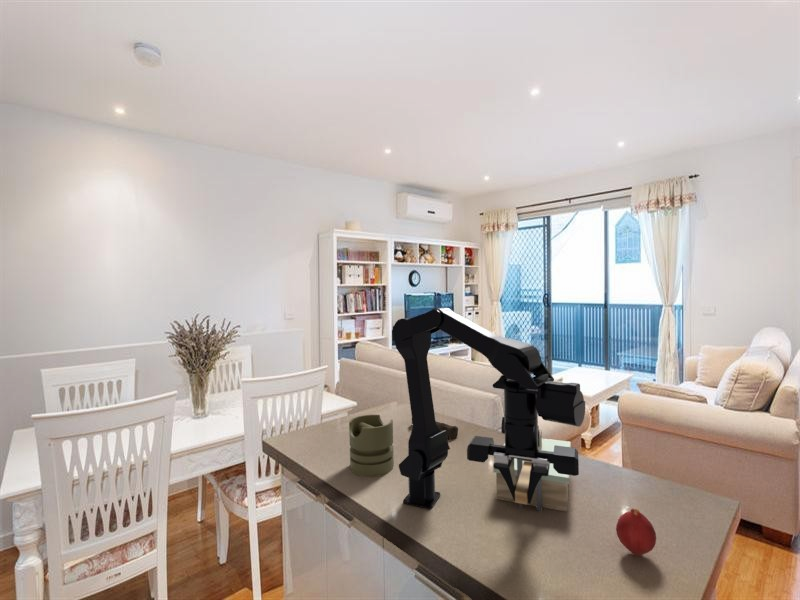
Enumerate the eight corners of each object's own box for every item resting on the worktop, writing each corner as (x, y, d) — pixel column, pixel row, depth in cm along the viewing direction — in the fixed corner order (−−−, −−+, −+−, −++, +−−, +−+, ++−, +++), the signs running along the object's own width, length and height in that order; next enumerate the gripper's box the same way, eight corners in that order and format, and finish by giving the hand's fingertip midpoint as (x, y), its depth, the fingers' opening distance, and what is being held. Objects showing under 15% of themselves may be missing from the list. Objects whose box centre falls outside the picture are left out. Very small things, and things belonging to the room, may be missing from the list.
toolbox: (566, 511, 82) (566, 482, 81) (496, 499, 87) (496, 471, 87) (568, 471, 100) (568, 446, 100) (510, 462, 105) (510, 439, 105)
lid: (569, 488, 81) (568, 458, 81) (493, 476, 87) (493, 448, 87) (570, 450, 100) (570, 425, 100) (508, 442, 106) (508, 419, 106)
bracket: (541, 511, 82) (540, 458, 82) (517, 507, 84) (516, 455, 84) (542, 509, 83) (541, 456, 82) (518, 505, 84) (517, 453, 84)
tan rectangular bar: (526, 504, 70) (526, 493, 70) (515, 502, 71) (514, 491, 71) (534, 471, 83) (534, 461, 83) (524, 469, 84) (524, 460, 84)
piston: (375, 412, 113) (401, 421, 104) (376, 454, 113) (402, 467, 104) (340, 420, 106) (365, 431, 97) (342, 466, 106) (366, 481, 97)
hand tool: (459, 438, 125) (459, 423, 125) (450, 441, 122) (450, 426, 122) (418, 423, 140) (417, 410, 140) (409, 426, 137) (409, 412, 137)
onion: (620, 539, 72) (619, 495, 72) (658, 552, 68) (658, 505, 68) (613, 556, 68) (612, 509, 67) (653, 571, 64) (652, 521, 64)
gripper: (577, 407, 76) (578, 489, 76) (478, 399, 83) (480, 474, 84) (578, 426, 66) (579, 520, 66) (465, 414, 73) (467, 500, 73)
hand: (522, 501), depth 73 cm, fingers closed on tan rectangular bar, 2 cm apart
